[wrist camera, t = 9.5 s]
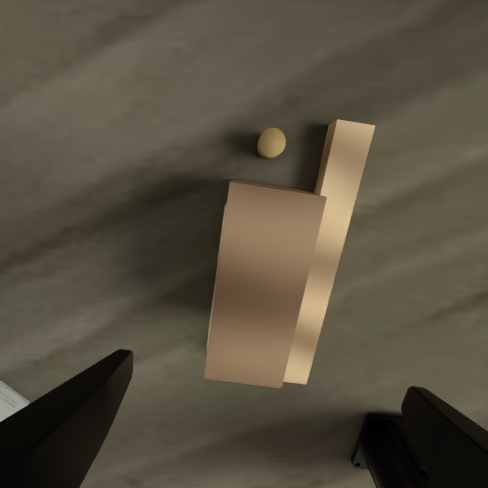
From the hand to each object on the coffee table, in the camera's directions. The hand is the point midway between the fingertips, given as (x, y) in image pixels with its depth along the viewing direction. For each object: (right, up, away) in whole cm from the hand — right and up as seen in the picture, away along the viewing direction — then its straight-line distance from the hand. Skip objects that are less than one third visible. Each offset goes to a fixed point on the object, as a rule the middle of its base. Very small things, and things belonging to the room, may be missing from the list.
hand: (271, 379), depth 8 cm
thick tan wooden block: (0, +3, +11) cm, 12 cm away
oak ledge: (+2, +3, +11) cm, 12 cm away
